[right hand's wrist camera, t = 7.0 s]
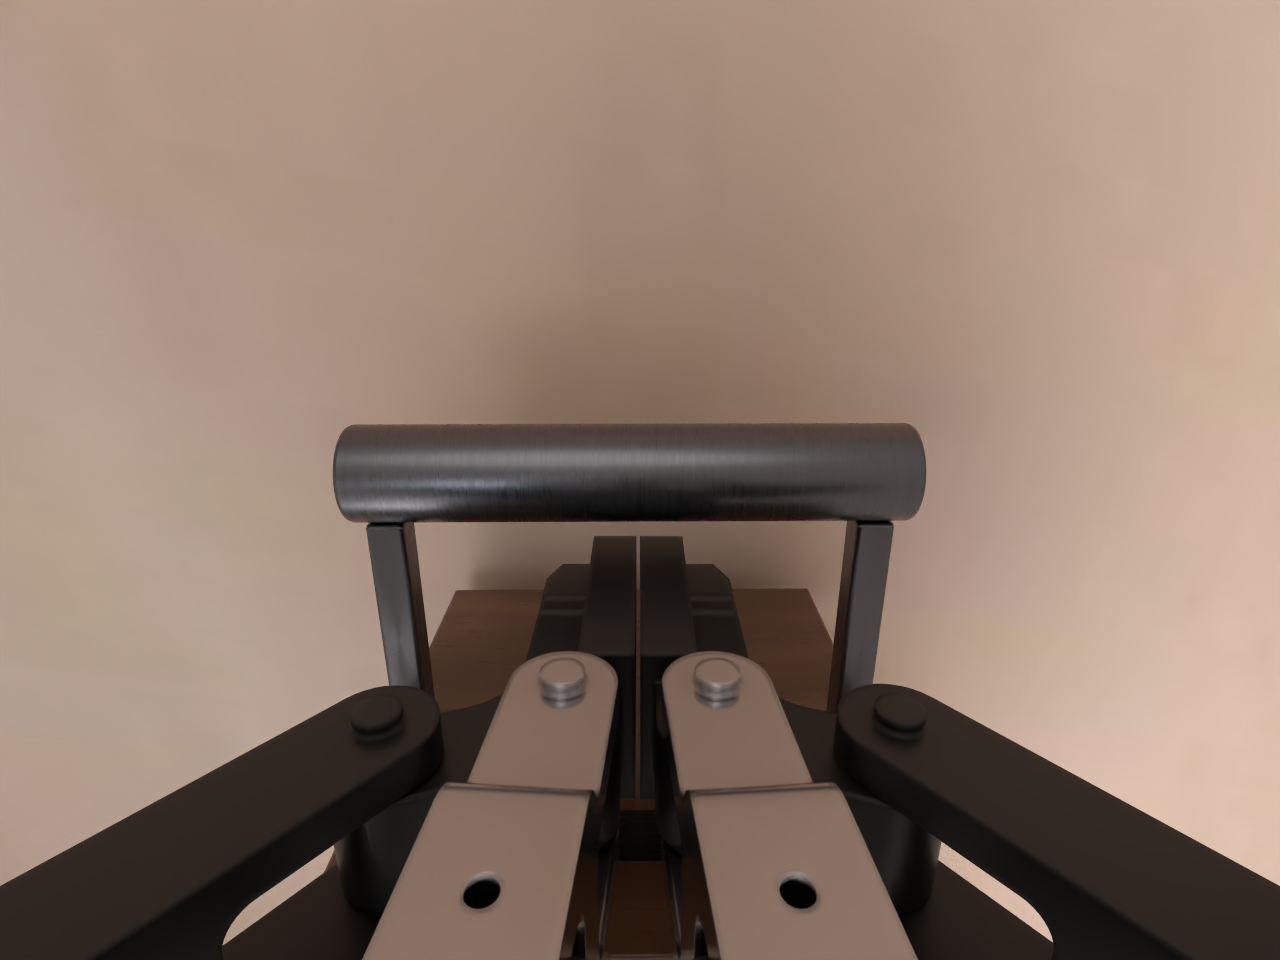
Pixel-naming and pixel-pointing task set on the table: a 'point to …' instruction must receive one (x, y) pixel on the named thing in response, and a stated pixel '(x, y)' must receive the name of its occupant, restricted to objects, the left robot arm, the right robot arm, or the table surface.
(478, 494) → the drawer
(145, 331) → the table surface
